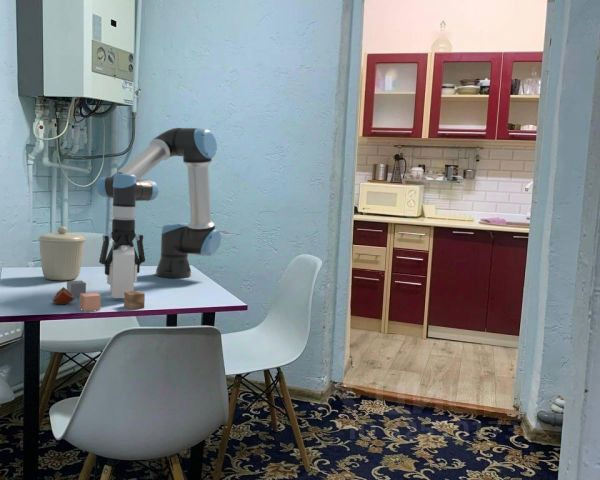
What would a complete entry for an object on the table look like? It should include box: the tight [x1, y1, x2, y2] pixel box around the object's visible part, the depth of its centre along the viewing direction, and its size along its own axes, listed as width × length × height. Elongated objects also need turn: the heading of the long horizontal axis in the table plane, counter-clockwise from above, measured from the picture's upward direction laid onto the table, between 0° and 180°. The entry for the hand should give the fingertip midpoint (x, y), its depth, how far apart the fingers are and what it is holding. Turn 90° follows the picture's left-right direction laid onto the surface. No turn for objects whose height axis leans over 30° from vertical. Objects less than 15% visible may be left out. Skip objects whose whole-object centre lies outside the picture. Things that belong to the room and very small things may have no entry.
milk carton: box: [109, 240, 135, 298], centre depth 198 cm, size 7×7×19 cm
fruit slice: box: [52, 286, 76, 305], centre depth 188 cm, size 8×7×5 cm
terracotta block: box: [78, 292, 101, 312], centre depth 183 cm, size 5×5×5 cm
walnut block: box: [123, 290, 146, 310], centre depth 190 cm, size 5×5×5 cm
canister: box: [36, 226, 87, 282], centre depth 228 cm, size 18×18×21 cm
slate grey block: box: [66, 279, 87, 298], centre depth 200 cm, size 5×5×5 cm
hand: (122, 283), depth 199 cm, fingers closed on milk carton, 8 cm apart
